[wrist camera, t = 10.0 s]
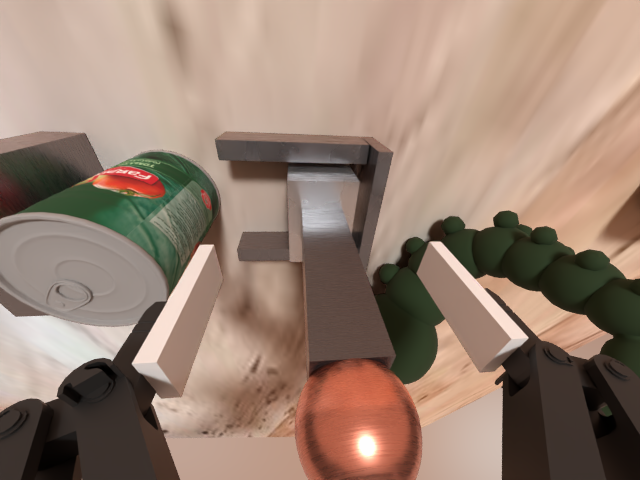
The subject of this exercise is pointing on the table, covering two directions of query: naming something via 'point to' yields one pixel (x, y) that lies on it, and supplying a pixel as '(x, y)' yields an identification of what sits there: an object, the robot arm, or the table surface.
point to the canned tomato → (109, 240)
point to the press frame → (81, 162)
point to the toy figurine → (524, 271)
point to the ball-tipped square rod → (344, 343)
